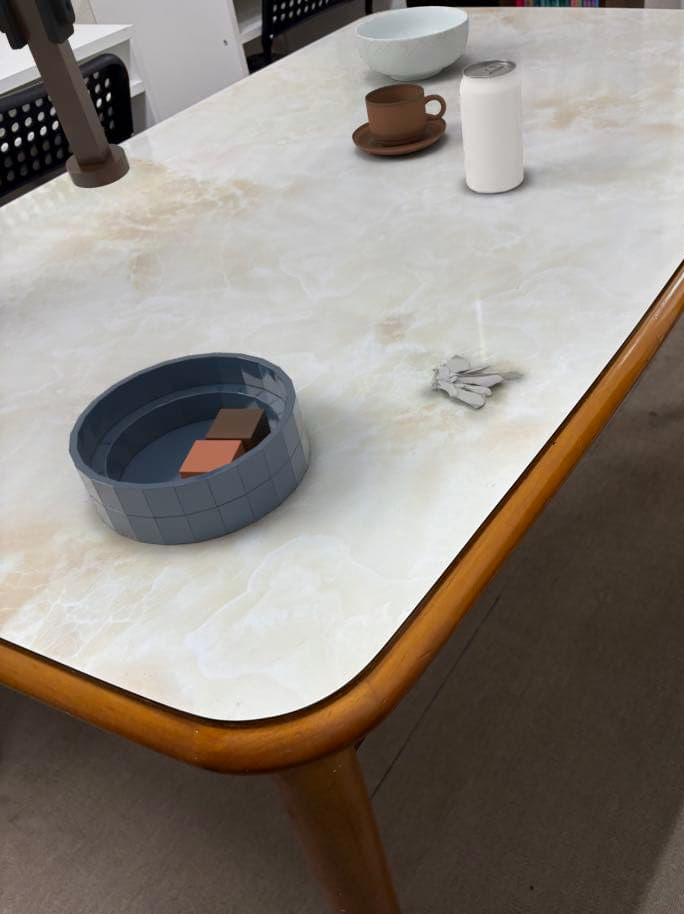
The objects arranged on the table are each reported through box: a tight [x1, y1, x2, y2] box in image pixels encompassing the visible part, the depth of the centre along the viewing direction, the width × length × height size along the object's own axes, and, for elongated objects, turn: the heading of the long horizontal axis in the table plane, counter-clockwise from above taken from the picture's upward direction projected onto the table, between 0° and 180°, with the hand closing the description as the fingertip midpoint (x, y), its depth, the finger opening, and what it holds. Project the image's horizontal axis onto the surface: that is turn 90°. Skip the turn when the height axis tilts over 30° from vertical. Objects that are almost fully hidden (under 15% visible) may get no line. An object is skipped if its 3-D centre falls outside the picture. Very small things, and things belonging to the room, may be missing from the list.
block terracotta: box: [179, 440, 246, 479], centre depth 60 cm, size 4×4×4 cm
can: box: [459, 58, 525, 195], centre depth 93 cm, size 6×6×12 cm
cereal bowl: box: [354, 5, 470, 82], centre depth 128 cm, size 17×17×7 cm
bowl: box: [68, 351, 311, 546], centre depth 63 cm, size 16×16×6 cm
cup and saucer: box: [351, 83, 447, 156], centre depth 107 cm, size 12×12×6 cm
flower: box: [430, 354, 524, 409], centre depth 68 cm, size 8×8×3 cm
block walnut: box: [205, 409, 271, 453], centre depth 63 cm, size 4×4×4 cm
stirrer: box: [9, 0, 131, 189], centre depth 58 cm, size 4×4×15 cm
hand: (43, 39), depth 57 cm, fingers closed on stirrer, 2 cm apart
